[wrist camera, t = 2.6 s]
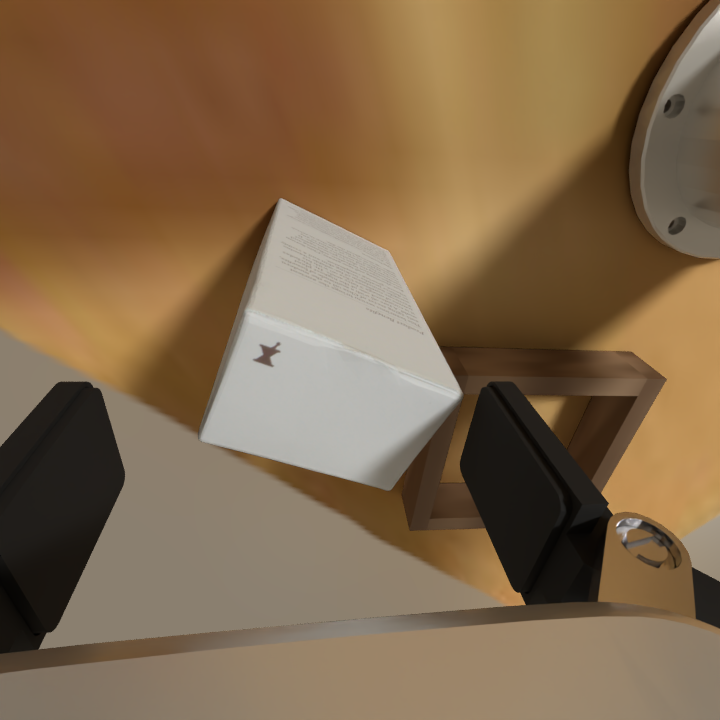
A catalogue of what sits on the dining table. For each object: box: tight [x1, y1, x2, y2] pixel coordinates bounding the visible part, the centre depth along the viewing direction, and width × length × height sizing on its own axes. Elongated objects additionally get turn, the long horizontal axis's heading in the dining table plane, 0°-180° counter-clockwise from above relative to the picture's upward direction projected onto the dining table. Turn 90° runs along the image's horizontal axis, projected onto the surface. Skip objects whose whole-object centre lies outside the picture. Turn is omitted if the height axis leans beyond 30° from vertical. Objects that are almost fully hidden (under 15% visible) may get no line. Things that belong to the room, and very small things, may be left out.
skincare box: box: [198, 198, 463, 491], centre depth 15 cm, size 6×4×12 cm
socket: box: [402, 347, 667, 531], centre depth 27 cm, size 13×13×3 cm
